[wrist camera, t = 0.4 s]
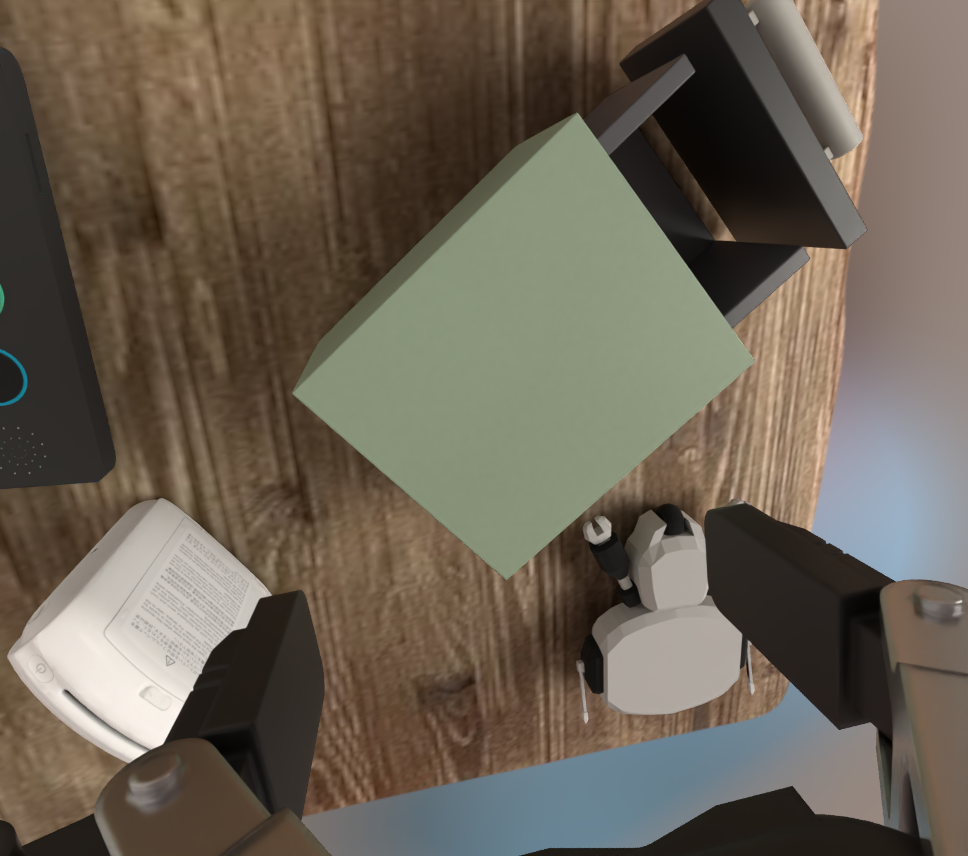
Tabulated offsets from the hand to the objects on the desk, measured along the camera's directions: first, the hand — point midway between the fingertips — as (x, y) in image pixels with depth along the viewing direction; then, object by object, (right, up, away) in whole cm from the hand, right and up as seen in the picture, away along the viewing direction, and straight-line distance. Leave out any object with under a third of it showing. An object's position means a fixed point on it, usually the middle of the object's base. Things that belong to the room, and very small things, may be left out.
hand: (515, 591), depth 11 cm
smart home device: (-25, +10, +17) cm, 32 cm away
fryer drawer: (+7, +15, +20) cm, 26 cm away
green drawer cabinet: (0, +9, +22) cm, 23 cm away
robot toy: (+11, -8, +30) cm, 33 cm away
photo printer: (-18, -5, +23) cm, 30 cm away
